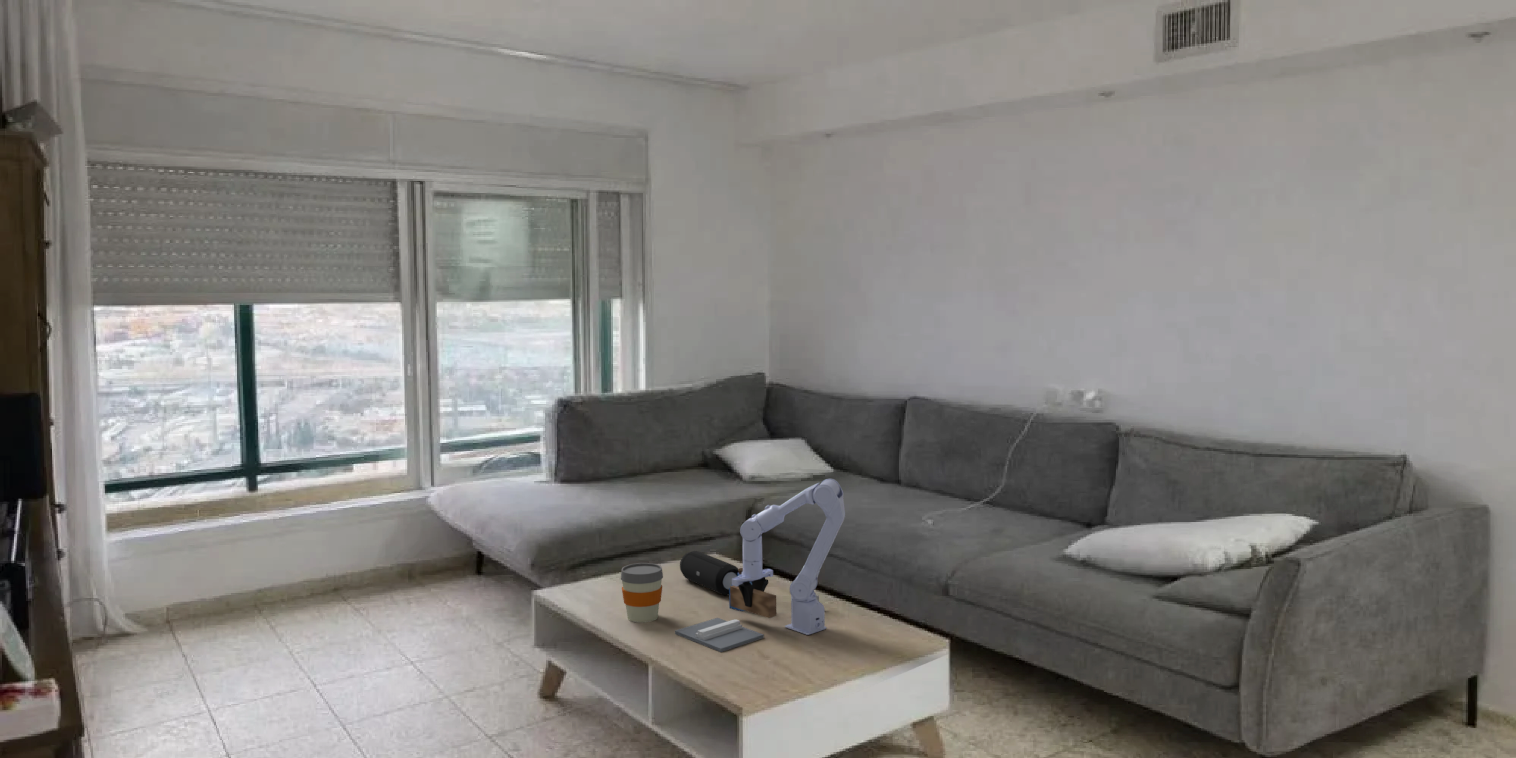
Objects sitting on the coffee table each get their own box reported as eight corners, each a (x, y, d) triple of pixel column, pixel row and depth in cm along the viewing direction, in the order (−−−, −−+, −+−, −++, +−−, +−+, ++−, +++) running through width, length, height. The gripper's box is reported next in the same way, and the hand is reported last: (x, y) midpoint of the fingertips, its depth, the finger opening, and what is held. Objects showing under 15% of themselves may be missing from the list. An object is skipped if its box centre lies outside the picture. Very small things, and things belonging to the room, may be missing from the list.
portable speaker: (677, 581, 349) (677, 551, 348) (702, 575, 354) (702, 547, 353) (719, 600, 328) (719, 569, 327) (745, 594, 334) (745, 563, 333)
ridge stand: (763, 637, 293) (763, 627, 293) (720, 652, 282) (720, 641, 282) (717, 620, 308) (717, 611, 308) (674, 633, 297) (674, 623, 297)
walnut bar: (776, 615, 300) (776, 595, 300) (769, 618, 298) (769, 597, 298) (737, 603, 312) (737, 584, 311) (730, 606, 310) (730, 586, 309)
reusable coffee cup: (656, 625, 304) (655, 575, 303) (615, 623, 307) (614, 573, 305) (668, 612, 316) (668, 563, 315) (629, 609, 319) (628, 561, 317)
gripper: (761, 552, 311) (761, 596, 313) (724, 561, 301) (725, 607, 303) (777, 556, 306) (778, 601, 307) (740, 566, 296) (741, 612, 298)
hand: (753, 604), depth 305 cm, fingers closed on walnut bar, 3 cm apart
